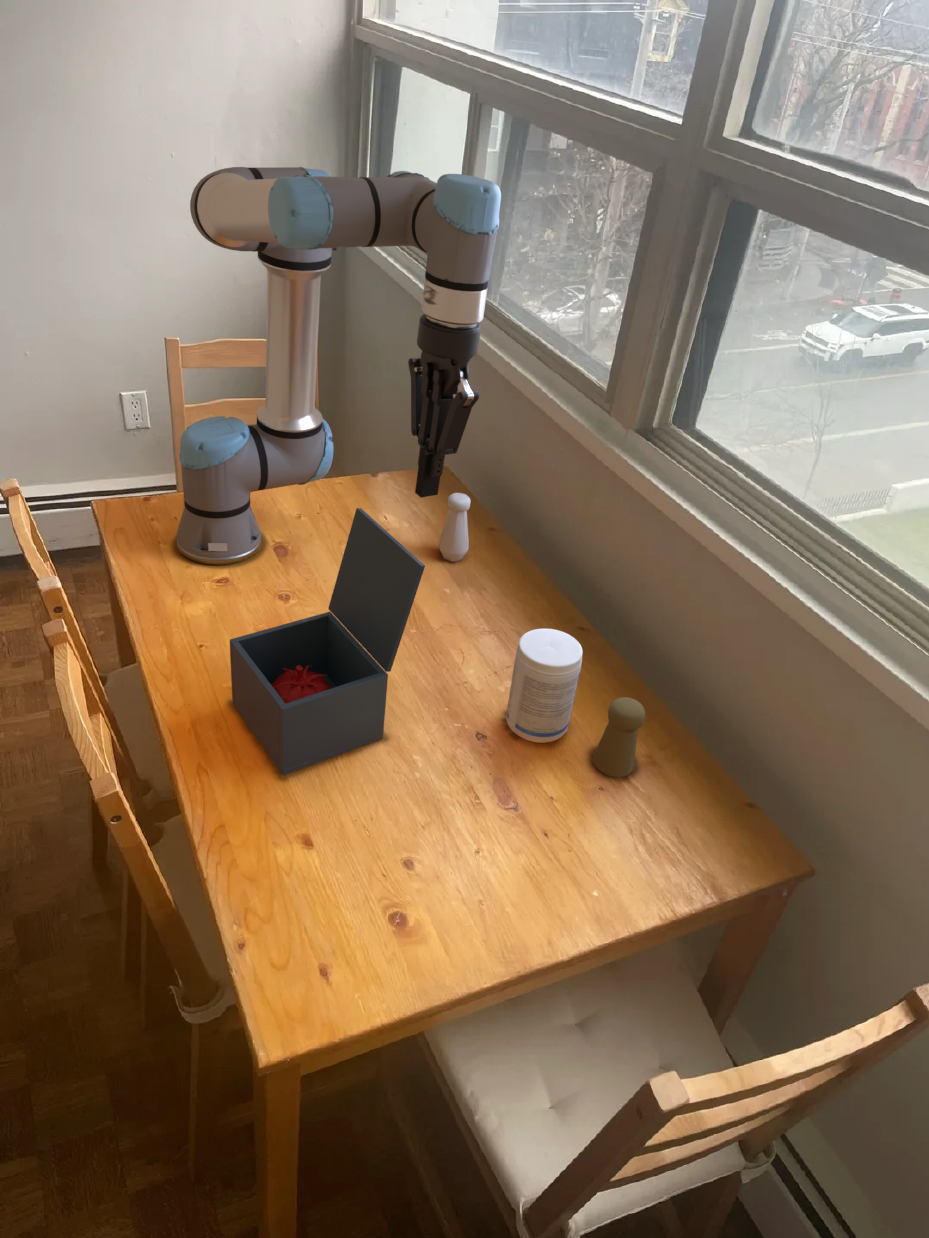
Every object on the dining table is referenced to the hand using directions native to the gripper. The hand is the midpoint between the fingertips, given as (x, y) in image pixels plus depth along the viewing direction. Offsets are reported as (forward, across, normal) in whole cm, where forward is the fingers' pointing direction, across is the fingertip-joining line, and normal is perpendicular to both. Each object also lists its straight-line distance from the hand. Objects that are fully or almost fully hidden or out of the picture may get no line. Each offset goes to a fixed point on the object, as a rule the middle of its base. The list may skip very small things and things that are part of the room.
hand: (426, 493), depth 122 cm
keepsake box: (+34, +1, -16) cm, 38 cm away
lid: (+13, 0, -7) cm, 15 cm away
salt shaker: (+33, -29, +30) cm, 53 cm away
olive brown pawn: (+33, +29, +19) cm, 48 cm away
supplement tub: (+33, +17, +14) cm, 40 cm away
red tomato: (+34, +1, -17) cm, 38 cm away
